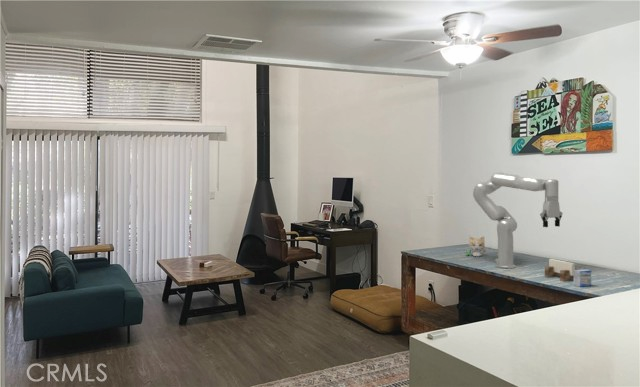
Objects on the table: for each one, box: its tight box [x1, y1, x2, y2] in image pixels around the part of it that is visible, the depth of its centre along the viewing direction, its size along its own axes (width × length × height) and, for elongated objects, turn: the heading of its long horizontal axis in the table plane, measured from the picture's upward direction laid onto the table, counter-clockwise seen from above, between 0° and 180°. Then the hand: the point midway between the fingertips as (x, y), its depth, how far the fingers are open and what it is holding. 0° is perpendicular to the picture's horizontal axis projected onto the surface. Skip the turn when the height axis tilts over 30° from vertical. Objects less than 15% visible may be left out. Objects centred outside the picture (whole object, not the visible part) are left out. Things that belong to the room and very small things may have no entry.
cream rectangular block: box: [548, 258, 576, 276], centre depth 275 cm, size 16×2×7 cm, turn 22°
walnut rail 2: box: [559, 268, 580, 282], centre depth 270 cm, size 12×2×6 cm, turn 111°
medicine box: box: [573, 268, 592, 288], centre depth 257 cm, size 8×4×9 cm, turn 105°
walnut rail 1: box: [544, 265, 560, 278], centre depth 281 cm, size 12×2×6 cm, turn 111°
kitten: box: [465, 235, 487, 258], centre depth 351 cm, size 15×10×15 cm
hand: (551, 226), depth 293 cm, fingers open, 9 cm apart
